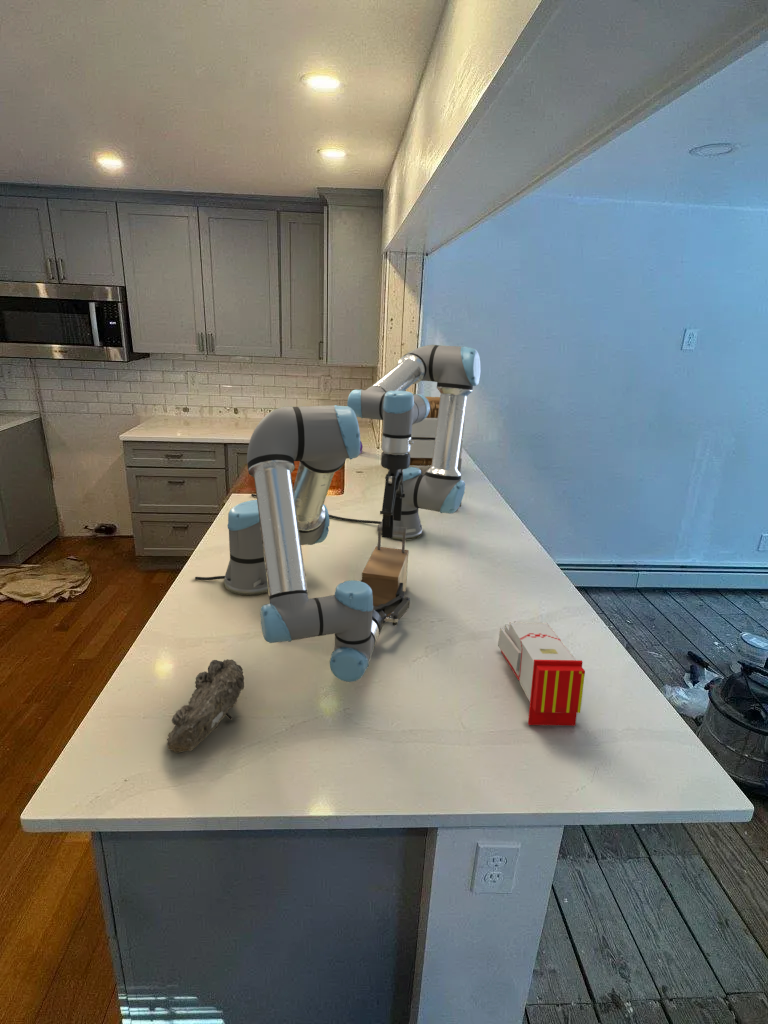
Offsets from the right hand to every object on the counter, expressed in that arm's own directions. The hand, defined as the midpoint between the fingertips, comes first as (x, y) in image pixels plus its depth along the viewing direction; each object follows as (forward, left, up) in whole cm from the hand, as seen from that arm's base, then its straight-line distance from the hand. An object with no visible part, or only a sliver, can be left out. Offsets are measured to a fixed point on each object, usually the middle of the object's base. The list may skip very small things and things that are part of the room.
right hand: (391, 528), depth 154 cm
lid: (+4, -5, -8) cm, 10 cm away
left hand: (+7, -9, -12) cm, 16 cm away
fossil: (+20, -62, -19) cm, 67 cm away
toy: (+51, -3, -19) cm, 54 cm away
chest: (+4, -5, -19) cm, 20 cm away
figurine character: (-39, +68, -19) cm, 80 cm away
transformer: (-82, +91, -19) cm, 124 cm away
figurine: (-130, +89, -19) cm, 159 cm away
